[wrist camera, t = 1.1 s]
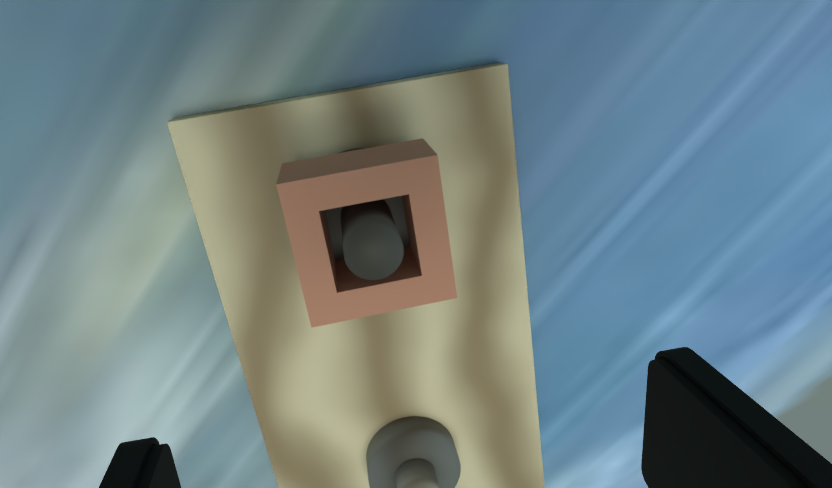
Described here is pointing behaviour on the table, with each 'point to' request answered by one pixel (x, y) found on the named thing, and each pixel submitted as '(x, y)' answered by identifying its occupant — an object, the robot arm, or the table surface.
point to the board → (389, 345)
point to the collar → (358, 183)
